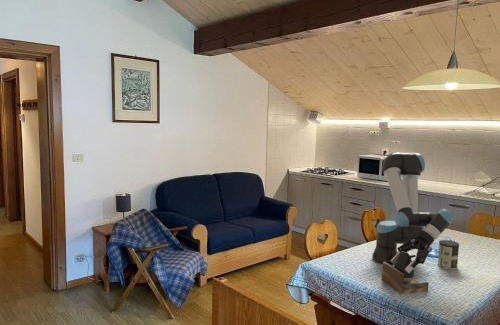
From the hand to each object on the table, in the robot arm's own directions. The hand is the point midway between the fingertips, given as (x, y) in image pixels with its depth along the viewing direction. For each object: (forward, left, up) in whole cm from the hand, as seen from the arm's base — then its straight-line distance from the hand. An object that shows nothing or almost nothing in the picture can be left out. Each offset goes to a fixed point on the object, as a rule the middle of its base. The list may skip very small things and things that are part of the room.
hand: (399, 266), depth 189 cm
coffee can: (+15, +47, -10) cm, 50 cm away
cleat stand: (+3, +3, -10) cm, 11 cm away
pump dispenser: (+2, +2, -8) cm, 9 cm away
